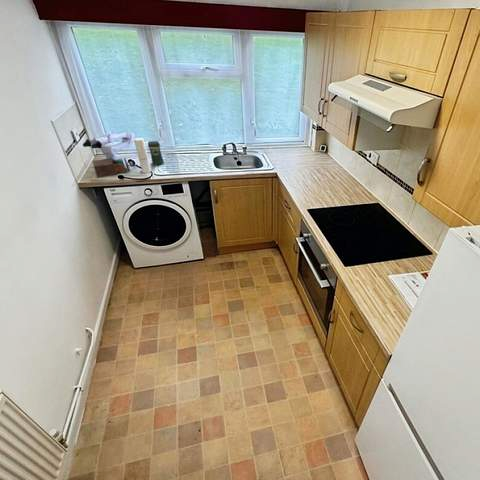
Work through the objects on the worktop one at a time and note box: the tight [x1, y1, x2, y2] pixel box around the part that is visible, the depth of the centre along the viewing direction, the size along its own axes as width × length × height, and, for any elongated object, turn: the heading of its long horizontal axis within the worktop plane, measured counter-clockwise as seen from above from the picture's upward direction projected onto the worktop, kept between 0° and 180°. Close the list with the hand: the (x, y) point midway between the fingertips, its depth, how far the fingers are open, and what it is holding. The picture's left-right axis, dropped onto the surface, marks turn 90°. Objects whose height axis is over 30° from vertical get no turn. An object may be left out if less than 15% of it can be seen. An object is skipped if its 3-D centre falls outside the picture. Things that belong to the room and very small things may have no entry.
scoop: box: [110, 157, 124, 164], centre depth 240 cm, size 9×5×10 cm, turn 119°
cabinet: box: [92, 158, 117, 178], centre depth 237 cm, size 14×15×9 cm
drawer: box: [112, 157, 134, 174], centre depth 242 cm, size 17×13×7 cm
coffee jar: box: [147, 140, 165, 166], centre depth 254 cm, size 10×8×19 cm
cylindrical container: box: [133, 137, 152, 174], centre depth 237 cm, size 7×7×25 cm
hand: (87, 146), depth 225 cm, fingers open, 7 cm apart
